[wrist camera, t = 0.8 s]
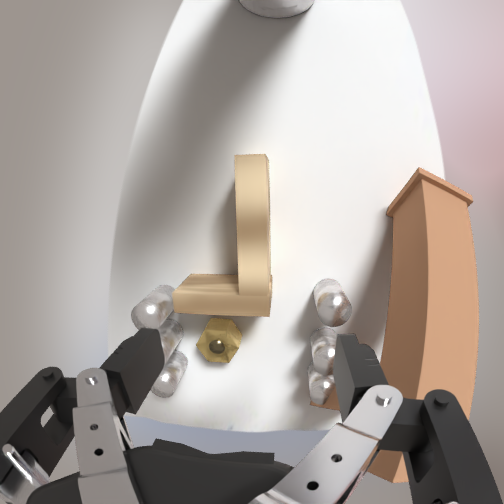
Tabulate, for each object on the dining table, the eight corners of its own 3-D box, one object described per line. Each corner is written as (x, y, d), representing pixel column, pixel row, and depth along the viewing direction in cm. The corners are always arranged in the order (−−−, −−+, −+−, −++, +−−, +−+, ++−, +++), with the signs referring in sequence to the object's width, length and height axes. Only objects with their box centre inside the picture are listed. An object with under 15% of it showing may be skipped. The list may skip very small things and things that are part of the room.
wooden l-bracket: (184, 164, 29) (162, 161, 23) (270, 160, 28) (267, 153, 22) (192, 290, 32) (174, 312, 26) (272, 292, 31) (269, 316, 25)
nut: (201, 317, 33) (193, 329, 30) (241, 319, 32) (237, 332, 29) (204, 346, 34) (197, 360, 31) (243, 349, 33) (239, 363, 30)
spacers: (151, 276, 32) (127, 294, 26) (342, 278, 30) (355, 300, 24) (167, 370, 35) (151, 398, 29) (331, 378, 33) (337, 409, 27)
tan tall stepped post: (336, 268, 42) (296, 434, 31) (418, 166, 22) (389, 485, 10) (376, 280, 42) (344, 441, 31) (472, 195, 21) (463, 475, 10)
